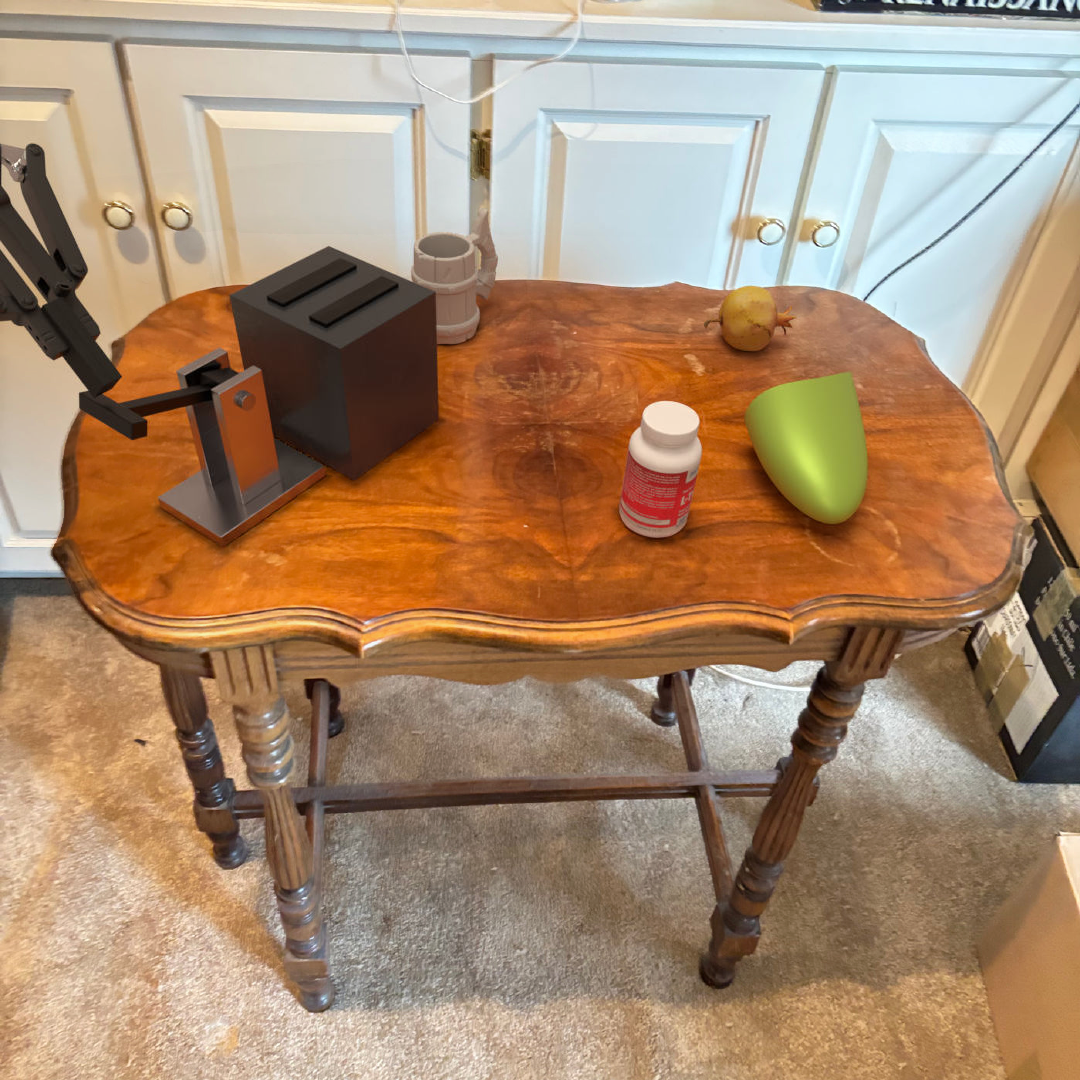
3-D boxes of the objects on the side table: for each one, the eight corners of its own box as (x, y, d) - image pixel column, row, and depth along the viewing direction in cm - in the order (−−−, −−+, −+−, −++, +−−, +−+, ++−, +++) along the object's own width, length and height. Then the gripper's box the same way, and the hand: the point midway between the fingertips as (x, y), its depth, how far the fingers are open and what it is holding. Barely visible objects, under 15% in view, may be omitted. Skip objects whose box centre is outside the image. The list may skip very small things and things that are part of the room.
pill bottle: (685, 545, 82) (707, 445, 74) (615, 534, 82) (630, 434, 74) (688, 499, 86) (709, 400, 78) (621, 489, 86) (637, 390, 79)
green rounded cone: (751, 330, 90) (794, 476, 77) (865, 354, 92) (926, 499, 79) (719, 392, 96) (755, 538, 82) (828, 413, 98) (879, 558, 85)
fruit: (713, 315, 99) (807, 318, 99) (707, 269, 102) (798, 272, 103) (701, 360, 105) (790, 362, 105) (696, 315, 108) (782, 317, 108)
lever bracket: (223, 547, 78) (192, 424, 69) (160, 507, 81) (122, 384, 72) (326, 475, 85) (310, 355, 77) (264, 441, 89) (242, 322, 80)
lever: (131, 447, 67) (131, 417, 66) (78, 415, 69) (78, 385, 68) (261, 412, 76) (263, 385, 75) (211, 385, 79) (212, 358, 77)
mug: (396, 327, 104) (390, 225, 96) (469, 290, 111) (470, 191, 102) (445, 355, 101) (444, 251, 92) (517, 314, 107) (522, 214, 99)
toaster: (354, 480, 85) (339, 344, 75) (254, 425, 90) (228, 290, 80) (438, 419, 92) (435, 287, 82) (342, 371, 97) (328, 241, 87)
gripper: (-230, 73, 55) (36, 414, 60) (-20, 26, 63) (198, 330, 68) (-229, 141, 60) (14, 446, 66) (-37, 89, 68) (166, 365, 74)
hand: (107, 387), depth 67 cm, fingers closed
